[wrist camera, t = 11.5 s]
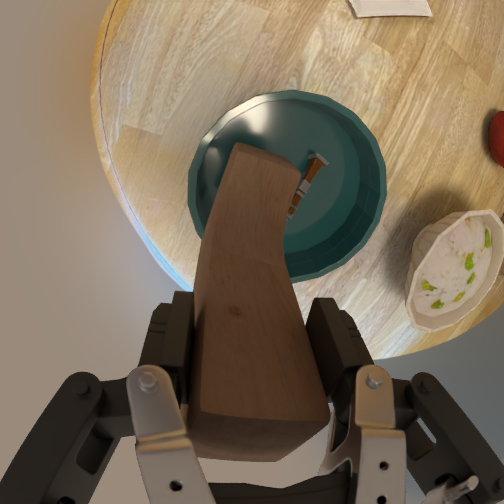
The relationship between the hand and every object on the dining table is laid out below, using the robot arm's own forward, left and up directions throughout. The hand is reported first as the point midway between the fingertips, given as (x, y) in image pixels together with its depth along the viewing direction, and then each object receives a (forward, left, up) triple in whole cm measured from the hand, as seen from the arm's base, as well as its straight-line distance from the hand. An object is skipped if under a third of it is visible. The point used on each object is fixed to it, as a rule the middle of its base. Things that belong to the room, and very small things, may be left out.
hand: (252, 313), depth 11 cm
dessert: (+13, +29, -22) cm, 39 cm away
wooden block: (0, 0, -13) cm, 13 cm away
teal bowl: (+5, 0, -22) cm, 22 cm away
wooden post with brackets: (+7, 0, -22) cm, 23 cm away
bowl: (+29, -6, -22) cm, 37 cm away
